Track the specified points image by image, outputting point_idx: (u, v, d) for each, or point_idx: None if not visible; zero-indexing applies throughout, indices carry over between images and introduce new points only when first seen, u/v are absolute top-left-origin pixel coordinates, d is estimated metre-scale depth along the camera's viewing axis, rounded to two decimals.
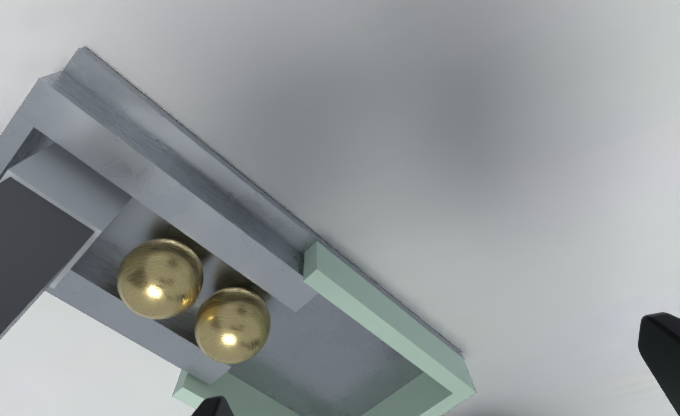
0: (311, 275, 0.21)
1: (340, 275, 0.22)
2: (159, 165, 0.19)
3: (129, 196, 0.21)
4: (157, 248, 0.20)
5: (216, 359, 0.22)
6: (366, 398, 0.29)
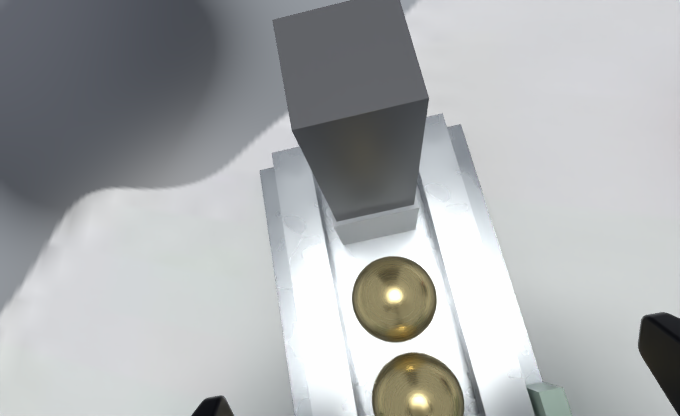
0: (552, 391, 0.18)
1: None
2: (471, 210, 0.21)
3: (415, 223, 0.22)
4: None
5: (397, 409, 0.17)
6: None
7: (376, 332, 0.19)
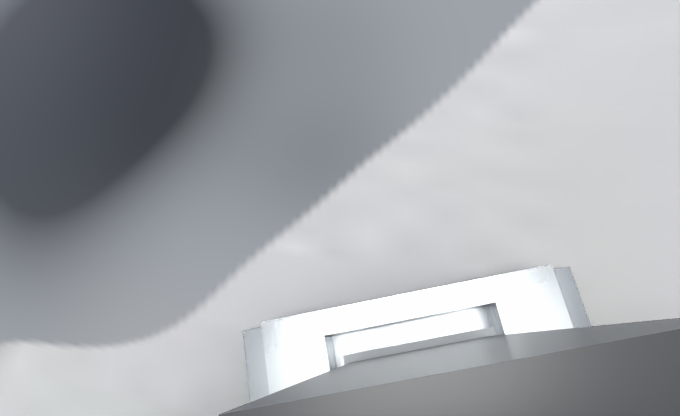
0: None
1: None
2: None
3: None
4: None
5: None
6: None
7: None
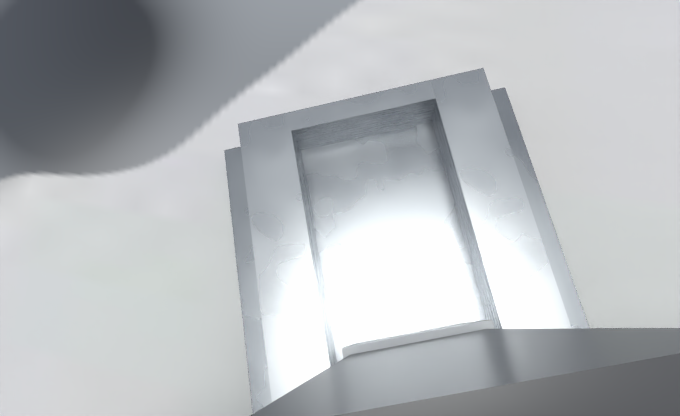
0: None
1: None
2: (528, 207, 0.14)
3: None
4: None
5: None
6: None
7: None
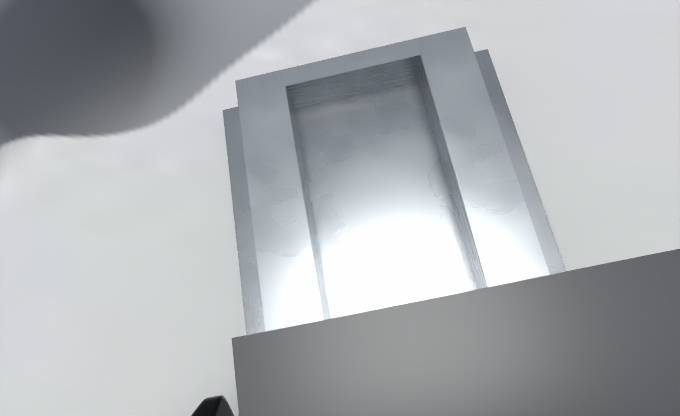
0: None
1: None
2: (506, 152, 0.15)
3: None
4: None
5: None
6: None
7: None
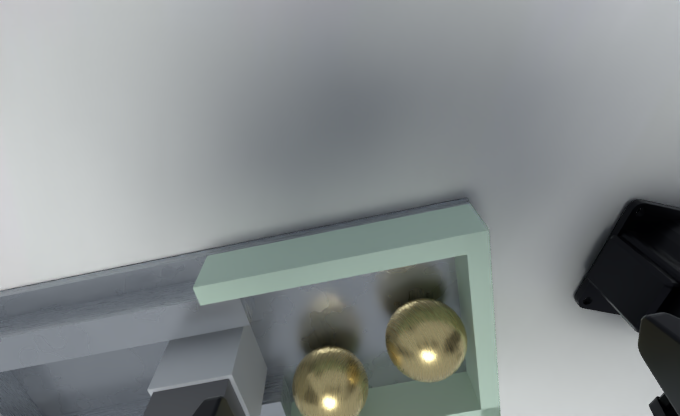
0: (197, 296, 0.19)
1: (233, 267, 0.20)
2: (39, 328, 0.21)
3: None
4: (316, 363, 0.21)
5: (397, 368, 0.21)
6: None
7: None
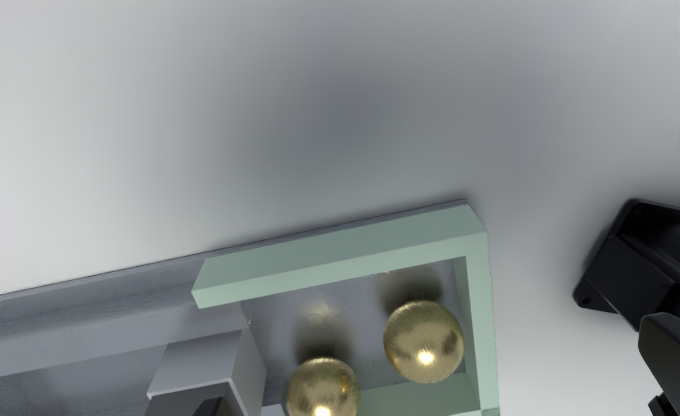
0: (196, 299, 0.19)
1: (231, 270, 0.20)
2: (37, 332, 0.21)
3: None
4: (306, 382, 0.21)
5: (394, 368, 0.21)
6: None
7: None
